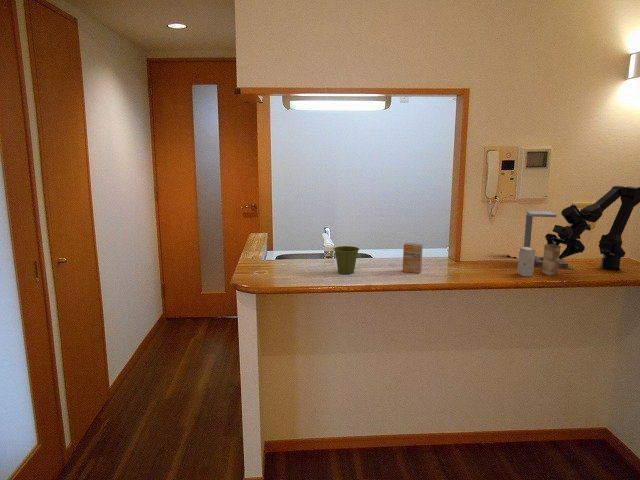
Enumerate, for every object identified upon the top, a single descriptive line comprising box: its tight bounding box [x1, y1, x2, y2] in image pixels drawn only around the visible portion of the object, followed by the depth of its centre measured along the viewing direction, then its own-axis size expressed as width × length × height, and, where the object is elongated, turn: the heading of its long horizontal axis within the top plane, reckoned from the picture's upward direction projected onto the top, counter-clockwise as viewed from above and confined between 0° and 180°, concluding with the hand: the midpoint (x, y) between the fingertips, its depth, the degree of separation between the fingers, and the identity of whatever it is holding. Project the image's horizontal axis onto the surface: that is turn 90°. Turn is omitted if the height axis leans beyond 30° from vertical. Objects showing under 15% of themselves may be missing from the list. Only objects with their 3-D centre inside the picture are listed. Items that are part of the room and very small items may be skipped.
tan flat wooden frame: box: [534, 255, 575, 271], centre depth 219 cm, size 18×16×2 cm
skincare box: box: [516, 246, 537, 277], centre depth 200 cm, size 6×4×12 cm
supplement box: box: [402, 242, 424, 274], centre depth 207 cm, size 8×5×13 cm, turn 70°
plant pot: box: [332, 245, 360, 275], centre depth 206 cm, size 12×12×11 cm
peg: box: [541, 243, 562, 276], centre depth 202 cm, size 5×5×13 cm
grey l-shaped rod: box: [523, 210, 557, 248], centre depth 219 cm, size 12×12×25 cm
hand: (551, 256), depth 202 cm, fingers open, 9 cm apart
